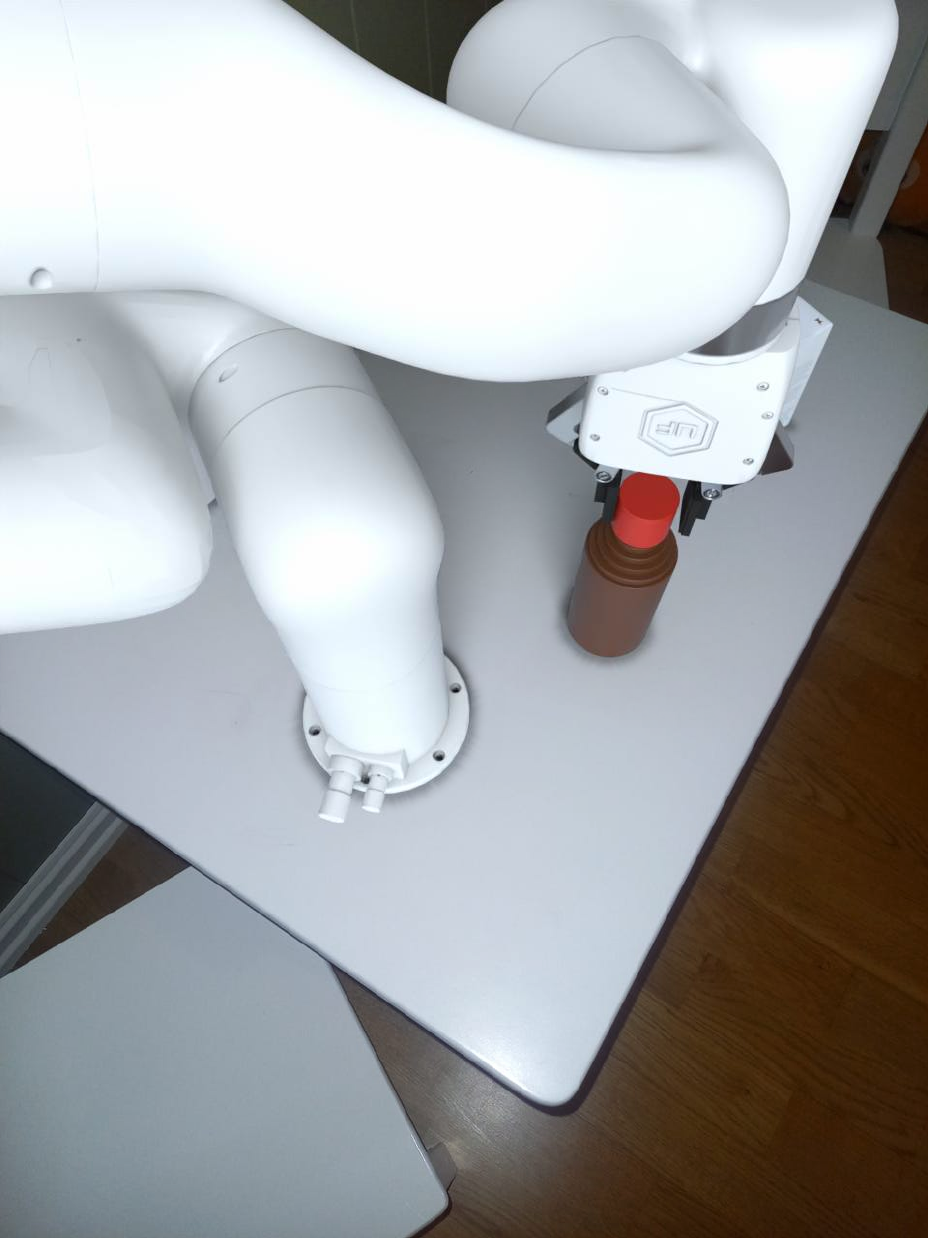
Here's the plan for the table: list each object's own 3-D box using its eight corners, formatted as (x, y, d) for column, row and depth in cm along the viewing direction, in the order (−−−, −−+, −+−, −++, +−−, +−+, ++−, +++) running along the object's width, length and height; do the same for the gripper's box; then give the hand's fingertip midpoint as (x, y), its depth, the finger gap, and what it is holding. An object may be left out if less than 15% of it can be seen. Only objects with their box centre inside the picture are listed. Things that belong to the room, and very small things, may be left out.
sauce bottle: (656, 649, 67) (712, 535, 52) (578, 664, 66) (612, 552, 52) (633, 580, 70) (680, 453, 55) (558, 593, 69) (585, 468, 54)
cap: (630, 557, 54) (640, 529, 52) (599, 514, 56) (606, 485, 53) (680, 534, 55) (692, 505, 52) (648, 492, 57) (657, 462, 54)
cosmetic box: (757, 395, 79) (798, 291, 68) (788, 425, 77) (836, 323, 66) (706, 424, 77) (741, 322, 67) (737, 455, 76) (778, 355, 65)
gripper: (519, 315, 39) (509, 536, 55) (903, 368, 36) (775, 582, 53) (547, 208, 42) (530, 446, 58) (900, 252, 40) (781, 486, 56)
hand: (647, 509), depth 55 cm, fingers open, 4 cm apart
